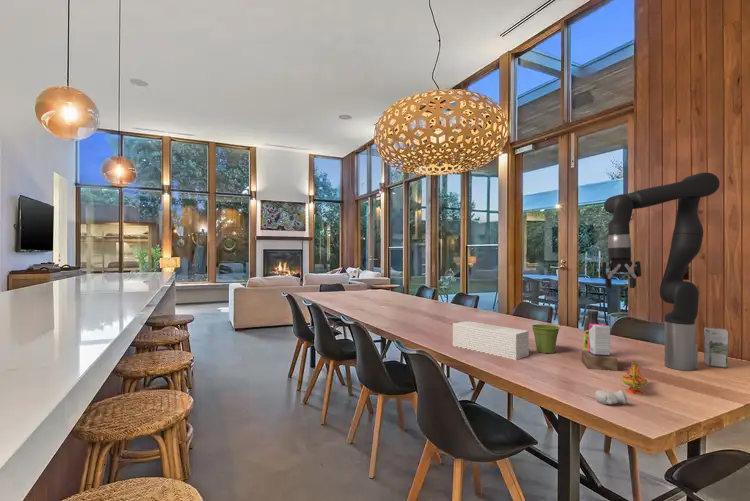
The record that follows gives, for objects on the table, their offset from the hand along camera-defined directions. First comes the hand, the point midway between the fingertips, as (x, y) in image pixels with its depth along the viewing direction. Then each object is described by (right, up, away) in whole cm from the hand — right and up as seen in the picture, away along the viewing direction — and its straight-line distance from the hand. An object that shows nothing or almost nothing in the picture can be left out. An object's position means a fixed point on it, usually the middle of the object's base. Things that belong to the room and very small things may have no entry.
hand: (620, 288), depth 151 cm
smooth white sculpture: (-27, -31, -37) cm, 55 cm away
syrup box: (+38, -31, +1) cm, 49 cm away
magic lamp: (-12, -30, -27) cm, 42 cm away
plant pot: (-20, -31, +22) cm, 42 cm away
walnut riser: (-9, -31, 0) cm, 32 cm away
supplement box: (-8, -26, 0) cm, 27 cm away
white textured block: (-44, -31, +24) cm, 59 cm away
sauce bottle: (-4, -31, +13) cm, 33 cm away
